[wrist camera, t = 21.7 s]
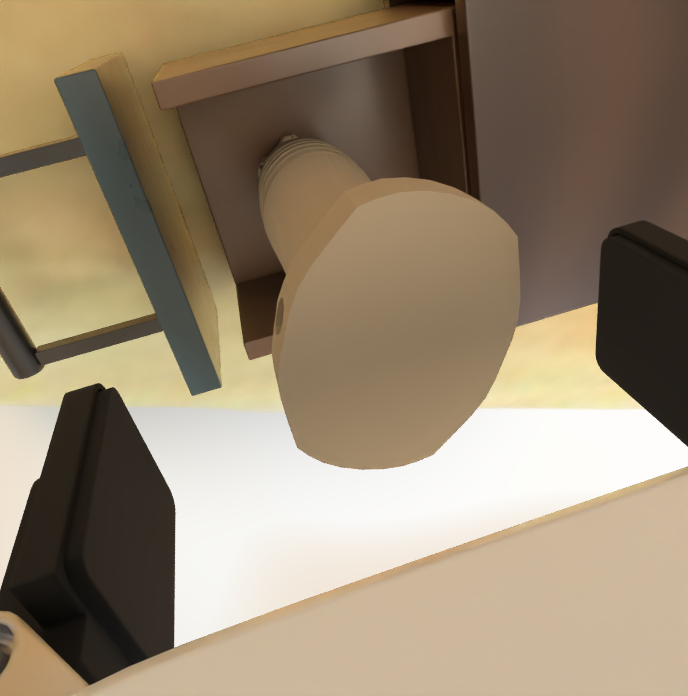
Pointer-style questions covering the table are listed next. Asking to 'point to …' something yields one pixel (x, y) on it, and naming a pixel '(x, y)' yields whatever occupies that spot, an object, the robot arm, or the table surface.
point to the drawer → (247, 161)
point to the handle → (382, 305)
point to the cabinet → (574, 130)
